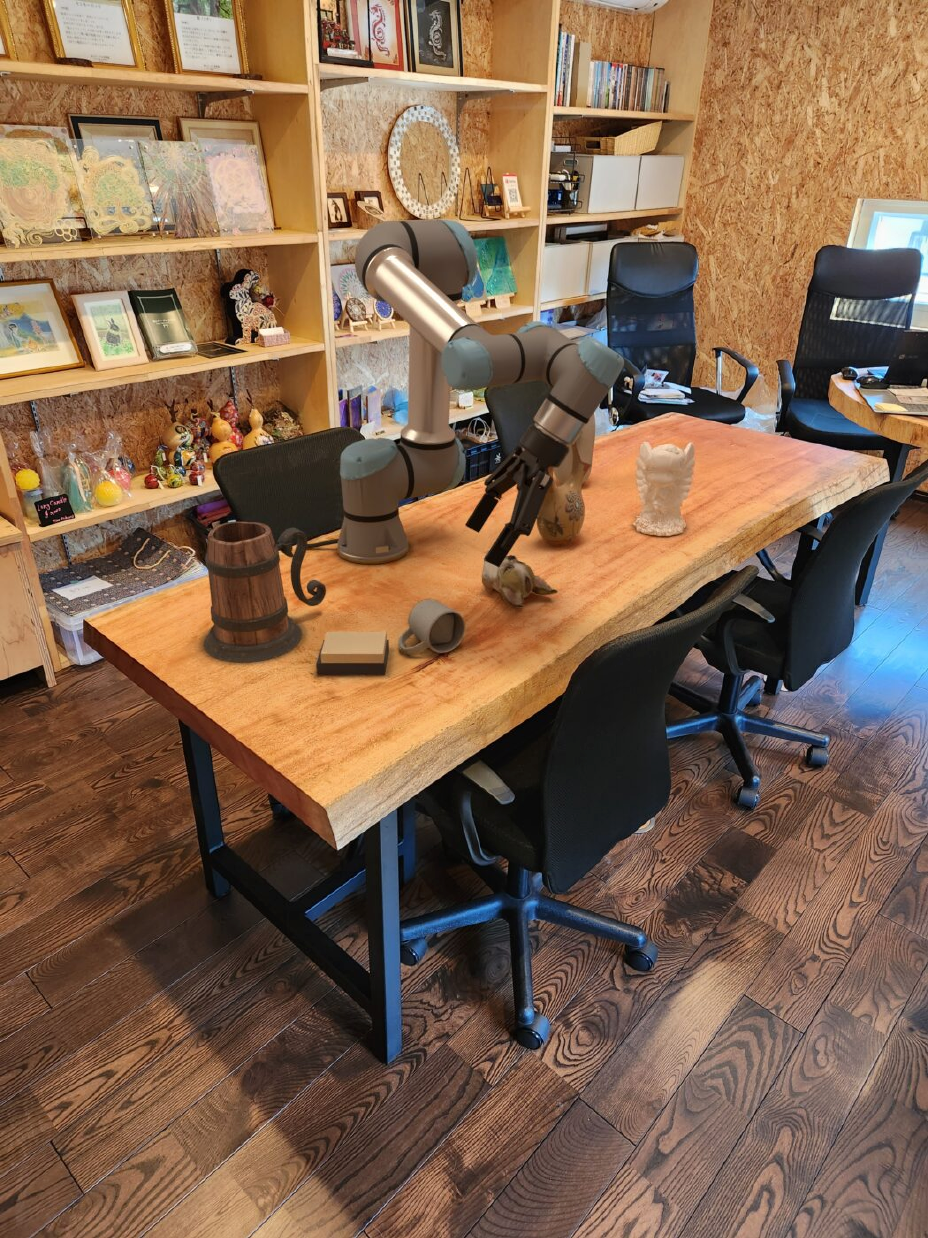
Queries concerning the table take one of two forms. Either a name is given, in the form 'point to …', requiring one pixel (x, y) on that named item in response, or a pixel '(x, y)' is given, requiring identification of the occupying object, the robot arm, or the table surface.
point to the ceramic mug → (433, 627)
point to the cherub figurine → (663, 487)
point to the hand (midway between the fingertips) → (481, 545)
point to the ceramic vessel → (564, 505)
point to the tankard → (253, 592)
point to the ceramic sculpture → (514, 581)
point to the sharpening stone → (353, 653)
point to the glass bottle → (585, 452)
